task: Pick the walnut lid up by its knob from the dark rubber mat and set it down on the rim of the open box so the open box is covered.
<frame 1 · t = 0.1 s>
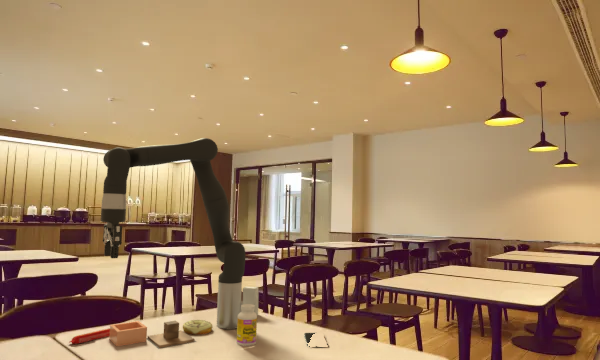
hand: (110, 256, 131), 29 cm above the table, fingers open, 8 cm apart
skincare box: (250, 315, 174), on the table
supplement bottle: (246, 344, 136), on the table
lid: (170, 339, 137), resting on mat
decorated donut: (197, 333, 149), on the table
candy bar: (94, 340, 137), on the table
mat: (170, 341, 137), on the table
open box: (127, 341, 136), on the table
smartphone: (315, 342, 141), on the table
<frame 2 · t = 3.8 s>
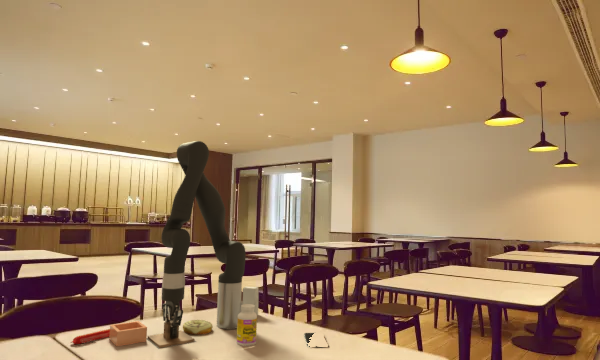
hand: (170, 336, 137), 2 cm above the table, fingers closed on lid, 3 cm apart
lid: (170, 339, 137), resting on mat, touching gripper
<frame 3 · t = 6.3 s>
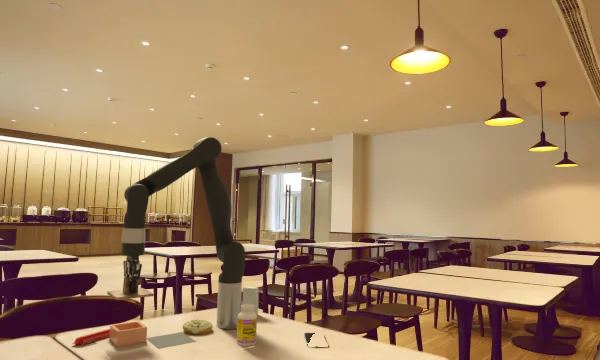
hand: (130, 291, 138), 17 cm above the table, fingers closed on lid, 3 cm apart
lid: (130, 294, 137), point 16 cm above the table, touching gripper
when the fingers open (7 cm above the table, at t = 8.6 s): lid drops 1 cm, resting on open box.
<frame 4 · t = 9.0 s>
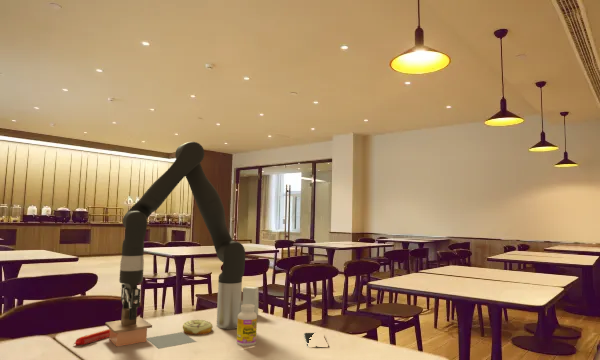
hand: (129, 317, 137), 8 cm above the table, fingers open, 7 cm apart
lid: (128, 326, 136), point 5 cm above the table, touching open box
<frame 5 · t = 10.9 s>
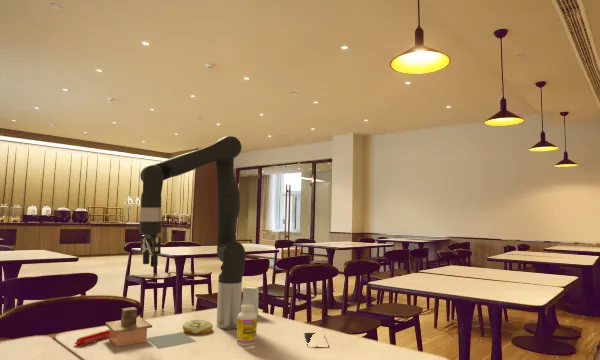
hand: (149, 265, 143), 25 cm above the table, fingers open, 8 cm apart
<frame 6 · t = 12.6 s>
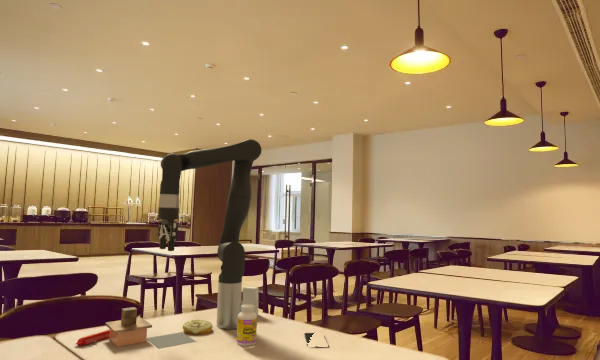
hand: (166, 250, 149), 30 cm above the table, fingers open, 8 cm apart
at the end: lid 0.0 cm off-centre on the open box, point 5.0 cm above the open box's base; lid tilted 0°; the gripper is holding nothing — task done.
